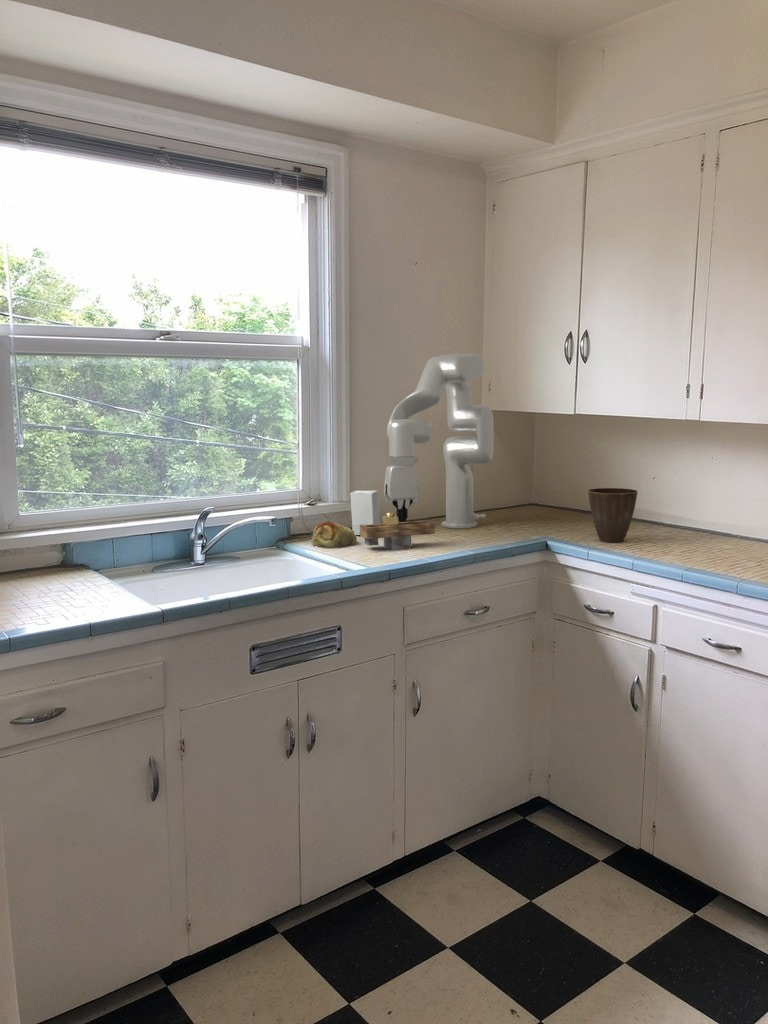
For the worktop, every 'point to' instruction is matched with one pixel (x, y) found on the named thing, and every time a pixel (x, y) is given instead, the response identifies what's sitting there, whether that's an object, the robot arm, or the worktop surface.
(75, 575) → the worktop surface
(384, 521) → the perfume bottle
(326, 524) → the pastry
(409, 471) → the robot arm
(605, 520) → the plant pot
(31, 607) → the worktop surface
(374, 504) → the skincare box
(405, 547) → the beam
